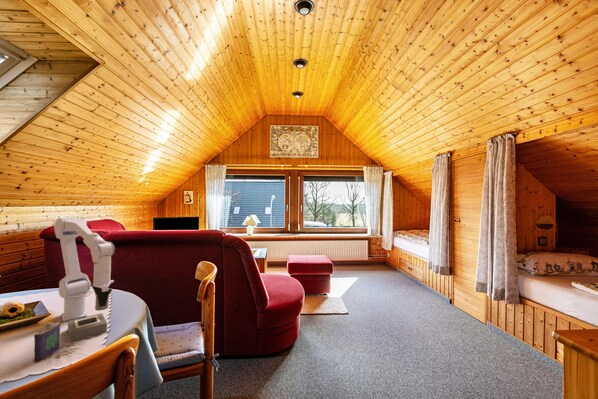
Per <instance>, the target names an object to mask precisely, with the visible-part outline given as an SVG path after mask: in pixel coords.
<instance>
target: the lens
mask: <svg viewBox="0 0 598 399" xmlns="http://www.w3.org/2000/svg"><path fill="white" fill-rule="evenodd" d="M109 296H110V295H109ZM109 296H108V300H107V303H106V306H102V307H99V303H98V297H97V295H95V304H94V305H95V306H94V308H95V311H103V310H107V309H108V308H109Z"/></svg>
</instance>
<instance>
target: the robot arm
mask: <svg viewBox="0 0 598 399" xmlns="http://www.w3.org/2000/svg"><path fill="white" fill-rule="evenodd" d="M53 228H54V234H55V237H56V239H59V240H60V241H59V242H60V247H61V252H62V259H63V264H64V269H65V270H64V271H65V272H64V273H65V276H64V277H63V278H61V280H59V282H58V286H59V287H58V294H59V297H61V298H62V299H64V300H63V312H62V313H61V316H62V321H63V322H66V321H67V322H68V321H70V320H75V319H79V318H83V317H88V313H87V311H86V295H87V294H88V292H90V290H91V288H92V290H93V292H94V294H95V295H94V296H96V295H97V297H98V303H99V307H102V306H106V303H107V300H108V296H110V295H111V293H112V290H113V289H112V287H110V288H109V286H110V285H111V284H112V283H113V284H114V282H115V280H114V279H112V280H111V274H112V273H111V272H112V256H113V255H114V254H115V249H116V248H115V245H114V244H113V242H112V241H106V240H105V239H103V238H102V237H101V236H100V235H99V234H98V233H97V232H92V230H91V229H90V228H89V226H88V221H87V219H86V218H85V217H82V216H80V217H64V218H63V217H59V218H57V219H56V220H55V222H54V225H53ZM79 236H80V237H81V238H83V243H84V244H85V245H86V246H87V248H89V249H90V255H91V260H92V262H93V282H92V283H91V281H90V279H89V276H88V274H86V273H83V272H81V266H80V262H79V256H78V250H77V244H76V238H77V237H79Z"/></svg>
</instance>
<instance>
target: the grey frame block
mask: <svg viewBox="0 0 598 399" xmlns="http://www.w3.org/2000/svg"><path fill="white" fill-rule="evenodd" d="M107 330H108V323H107V320H106V317H104V314H103V313H101V312H100V313H97V314H93V315H89V316H88V315H87V316H84V317H80V318H75V319H71V320H67V332H68V338H69V342H70V343H71V342H74V341H78V340H82V339H85V338H89V337H93V336H96V335H100V334H105V333H107V332H108V331H107Z"/></svg>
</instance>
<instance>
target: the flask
mask: <svg viewBox="0 0 598 399" xmlns="http://www.w3.org/2000/svg"><path fill="white" fill-rule="evenodd" d="M45 324H46V325H45V327H44V328H43V329H42V330H38V331H37V332H36V333H34V338H33V339H34V349H33V350H34V358H33V360H34V361H33V362H34V363H40V362H43V361H44V360H46V359H47V358H49V357H50V356H51V355H52V356H53V354H54V353H55V352H57V351H58V350H59V349H60V345H61V343H60V342H61V341H60V338H61V335H60V334H61V322H59V321H58V322H46V323H45Z"/></svg>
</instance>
